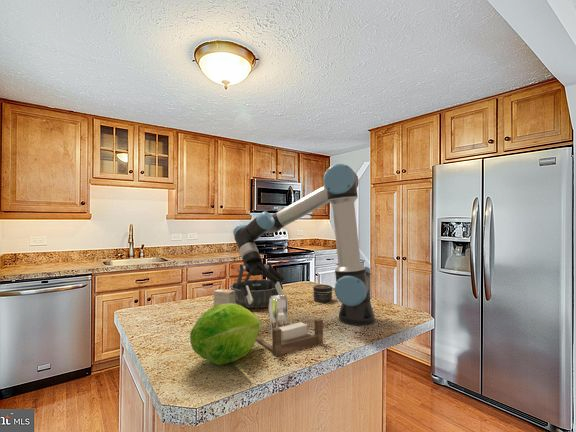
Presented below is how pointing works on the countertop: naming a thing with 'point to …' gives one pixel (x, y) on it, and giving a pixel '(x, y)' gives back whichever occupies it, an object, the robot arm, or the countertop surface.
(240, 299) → the bundt pan
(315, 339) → the rack
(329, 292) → the jar
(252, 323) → the lettuce
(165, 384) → the countertop surface
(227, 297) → the supplement box
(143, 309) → the countertop surface
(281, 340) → the offcut lower
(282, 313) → the beer glass
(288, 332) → the offcut upper
